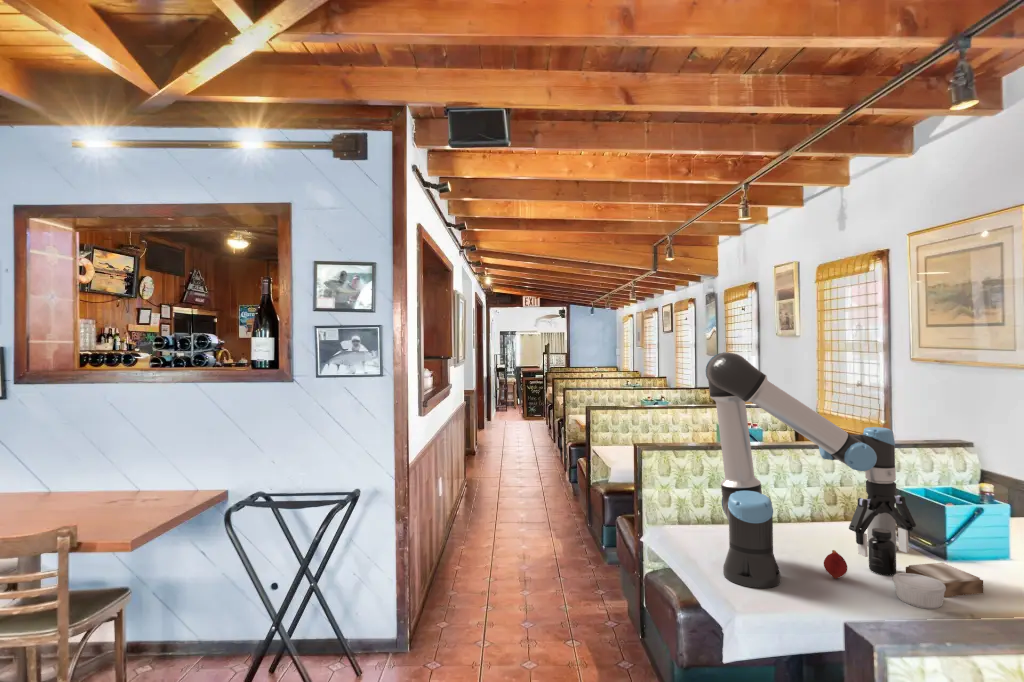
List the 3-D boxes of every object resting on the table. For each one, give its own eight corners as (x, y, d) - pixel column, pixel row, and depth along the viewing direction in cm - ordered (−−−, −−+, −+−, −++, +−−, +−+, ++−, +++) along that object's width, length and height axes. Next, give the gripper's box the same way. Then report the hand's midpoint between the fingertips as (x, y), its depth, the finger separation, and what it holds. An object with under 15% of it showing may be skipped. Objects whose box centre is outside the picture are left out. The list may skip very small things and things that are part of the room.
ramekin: (924, 591, 152) (923, 571, 152) (958, 610, 141) (957, 589, 141) (883, 592, 152) (882, 572, 152) (914, 611, 141) (913, 590, 141)
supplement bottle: (902, 576, 162) (901, 534, 163) (878, 576, 163) (877, 534, 163) (886, 566, 169) (885, 526, 170) (863, 567, 170) (862, 526, 170)
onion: (845, 575, 163) (844, 548, 163) (849, 583, 158) (849, 554, 158) (822, 573, 165) (821, 545, 165) (826, 581, 160) (825, 552, 160)
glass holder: (866, 548, 185) (865, 502, 185) (866, 536, 197) (865, 493, 197) (898, 553, 180) (897, 506, 181) (896, 540, 192) (895, 496, 193)
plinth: (944, 597, 149) (944, 581, 149) (905, 579, 160) (905, 564, 160) (983, 593, 150) (983, 578, 151) (942, 575, 162) (942, 561, 162)
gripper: (852, 486, 161) (855, 561, 160) (928, 480, 165) (931, 554, 164) (833, 480, 168) (836, 552, 168) (906, 475, 172) (909, 545, 172)
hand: (883, 553), depth 166 cm, fingers open, 13 cm apart
